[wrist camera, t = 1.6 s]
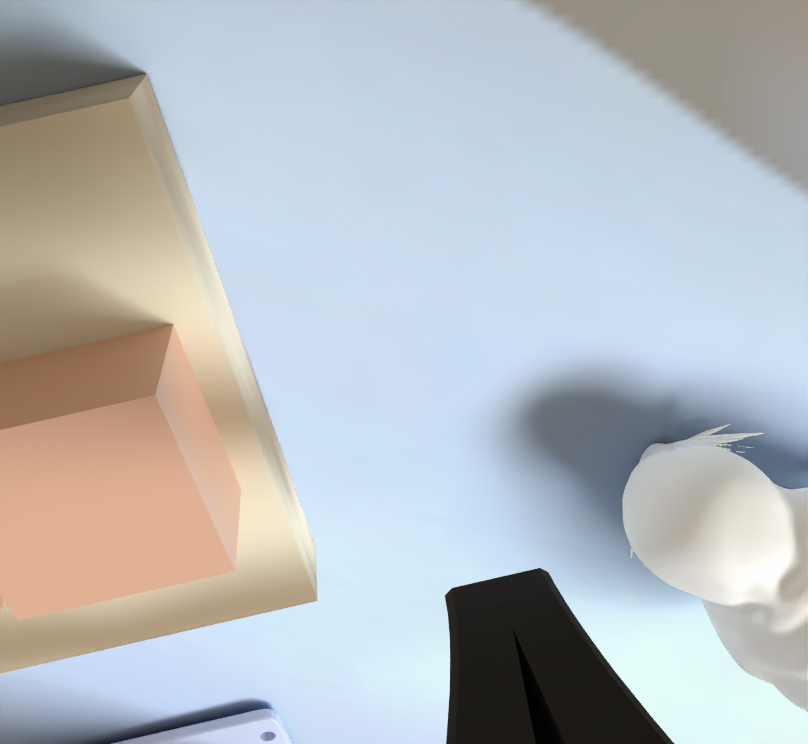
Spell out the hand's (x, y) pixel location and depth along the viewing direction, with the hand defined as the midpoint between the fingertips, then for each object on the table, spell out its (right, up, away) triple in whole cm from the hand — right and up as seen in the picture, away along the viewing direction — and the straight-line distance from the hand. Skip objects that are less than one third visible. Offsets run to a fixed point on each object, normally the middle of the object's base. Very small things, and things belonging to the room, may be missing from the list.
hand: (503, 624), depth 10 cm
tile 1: (-8, +2, +6) cm, 10 cm away
